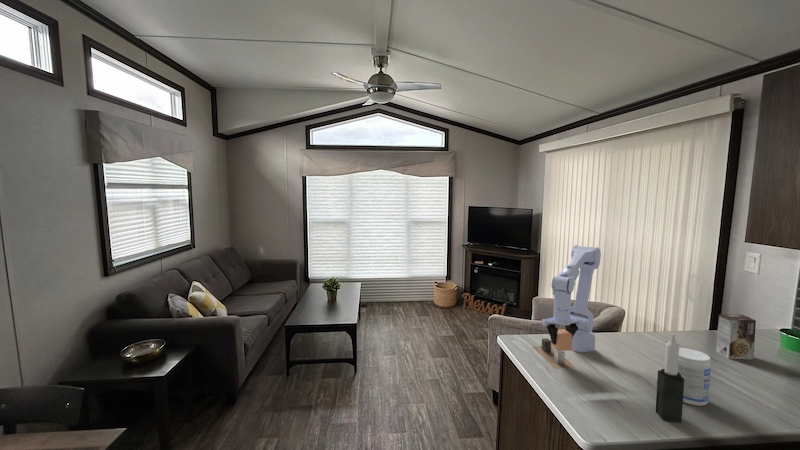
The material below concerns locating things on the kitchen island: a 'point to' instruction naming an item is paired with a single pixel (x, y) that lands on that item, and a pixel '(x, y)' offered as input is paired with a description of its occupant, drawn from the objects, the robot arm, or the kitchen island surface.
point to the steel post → (559, 357)
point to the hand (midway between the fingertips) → (561, 343)
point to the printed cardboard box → (736, 336)
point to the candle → (670, 386)
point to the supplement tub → (694, 376)
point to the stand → (551, 354)
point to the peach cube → (563, 340)
